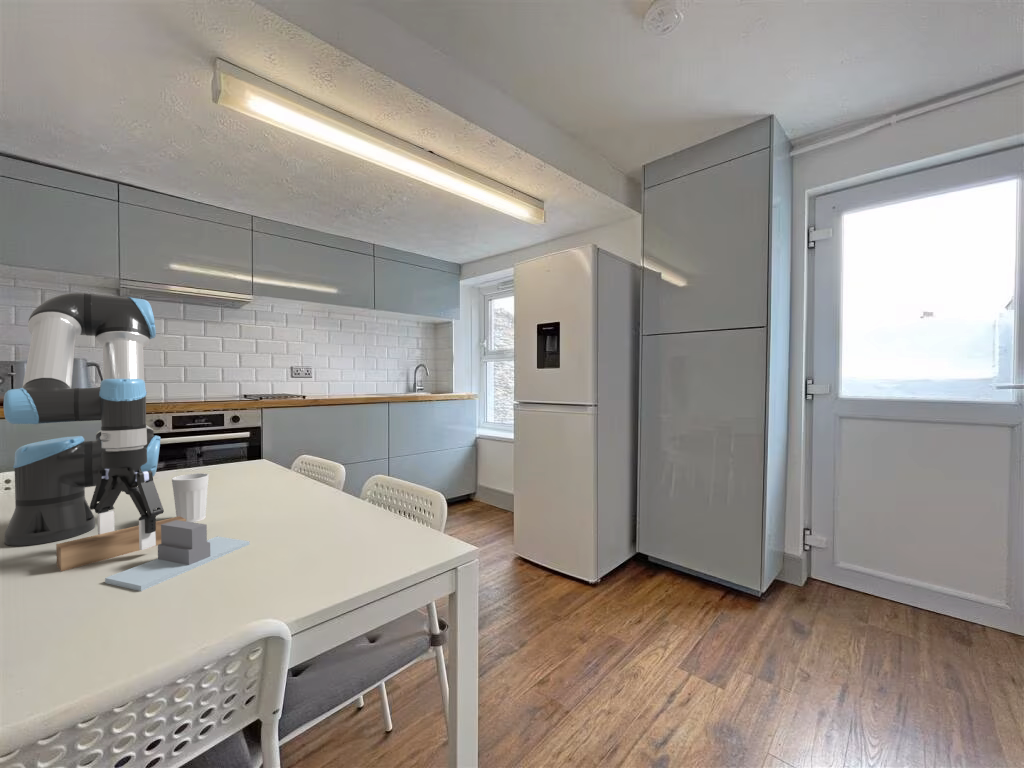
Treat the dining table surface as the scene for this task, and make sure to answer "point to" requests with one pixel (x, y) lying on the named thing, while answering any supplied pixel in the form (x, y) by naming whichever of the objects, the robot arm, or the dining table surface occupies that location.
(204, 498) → the cup
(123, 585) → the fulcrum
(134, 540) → the bar
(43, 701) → the dining table surface
